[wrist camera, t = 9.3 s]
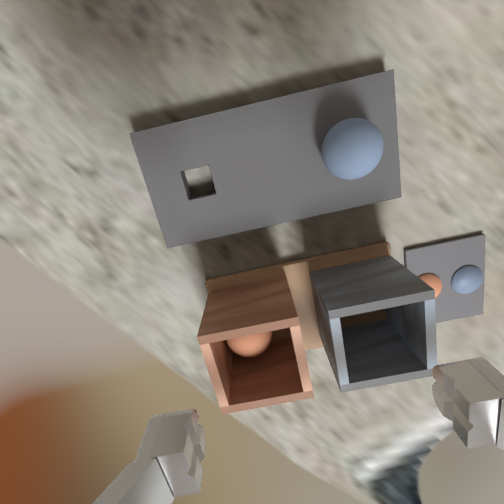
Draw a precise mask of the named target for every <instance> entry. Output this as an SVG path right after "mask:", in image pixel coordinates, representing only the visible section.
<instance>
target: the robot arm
mask: <svg viewBox="0 0 504 504" xmlns="http://www.w3.org/2000/svg"><path fill="white" fill-rule="evenodd" d="M432 376H433V377H434V378H435V379H436V382H435V383H434V384H433V386H432V390H433V396H434V400H435V403H436V405H437V406H438V408H439V410H440V411H441V413H442V414H443V416H444V417H446V418H448V419H450V420H451V421H453V430H454V431H455V432H456V434H457V435H458V436H459V438H460V439H461V441H462V442H463V443H464V445H465V446H466V447H467V448H476V447H483V446H490V445H497V447H499V448H500V449H502V450H503V451H504V376H503V375H502V374H501V373H500V372H499V371H498V370H497V369H496V368H494V367H493V366H492V365H491V364H490V363H489V362H488V361H487V360H486V359H484V358H481V357H479V358H474V359H468V360H465V361H458V362H452V363H447V364H442V365H436V366H434V367H433V369H432ZM198 417H199V416H198V414H197V411H196V410H195V409H190V410H183V411H176V412H170V413H165V414H158V415H153V416H152V417H151V418H150V419H149V422H148V425H147V428H146V430H145V433H144V436H143V439H142V442H141V445H140V448H139V451H138V454H137V456H136V459H135V462H130V464H128V465H127V467H126V468H125V469H124V470H123V471H122V472H121V473H120V474H119V475H118V476H117V478H116V479H115V480H114V481H113V482H112V483H111V484H110V485H109V486H108V487H107V489H106V490H105V491H104V492H103V493H102V494H101V495H100V496H99V497H98V498H97V500H96V501H95V502H94V503H93V504H172V502H173V500H174V497H178V496H183V495H188V494H193V493H198V492H200V487H201V480H202V472H203V470H202V467H201V465H200V462H201V461H202V460H203V458H204V456H205V435H204V430H203V427H202V426H201V425H200V424H198Z"/></svg>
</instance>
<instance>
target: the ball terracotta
mask: <svg viewBox="0 0 504 504" xmlns="http://www.w3.org/2000/svg"><path fill="white" fill-rule="evenodd" d="M271 339H272V331H269V332H264V333H259V334H254V335H249V336H244V337H239V338H233V339H228V340H226V341H227V344H228V346H229V347H230V349H231V350H232V351H233V352H235V353H236V354H238V355H240V356H243V357H254V356H257V355H260V354H261V353H263V352H264V351H265V350H266V349H267V348H268V346H269V344H270V342H271Z"/></svg>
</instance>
